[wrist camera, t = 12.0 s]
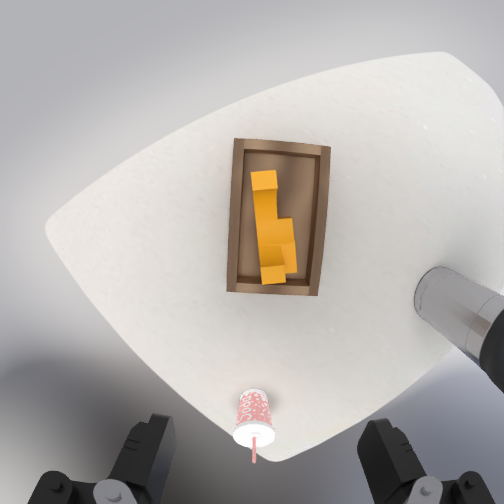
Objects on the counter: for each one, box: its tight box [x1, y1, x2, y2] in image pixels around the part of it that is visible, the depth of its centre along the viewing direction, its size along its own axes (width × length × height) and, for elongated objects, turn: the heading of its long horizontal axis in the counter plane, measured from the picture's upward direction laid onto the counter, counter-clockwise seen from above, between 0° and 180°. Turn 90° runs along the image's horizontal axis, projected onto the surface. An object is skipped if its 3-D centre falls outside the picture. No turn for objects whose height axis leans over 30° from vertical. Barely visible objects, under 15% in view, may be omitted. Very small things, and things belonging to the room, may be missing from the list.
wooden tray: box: [226, 138, 331, 296], centre depth 33 cm, size 11×18×4 cm, turn 177°
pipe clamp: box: [251, 170, 297, 285], centre depth 31 cm, size 12×4×6 cm, turn 6°
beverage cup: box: [233, 389, 275, 463], centre depth 34 cm, size 6×6×14 cm
